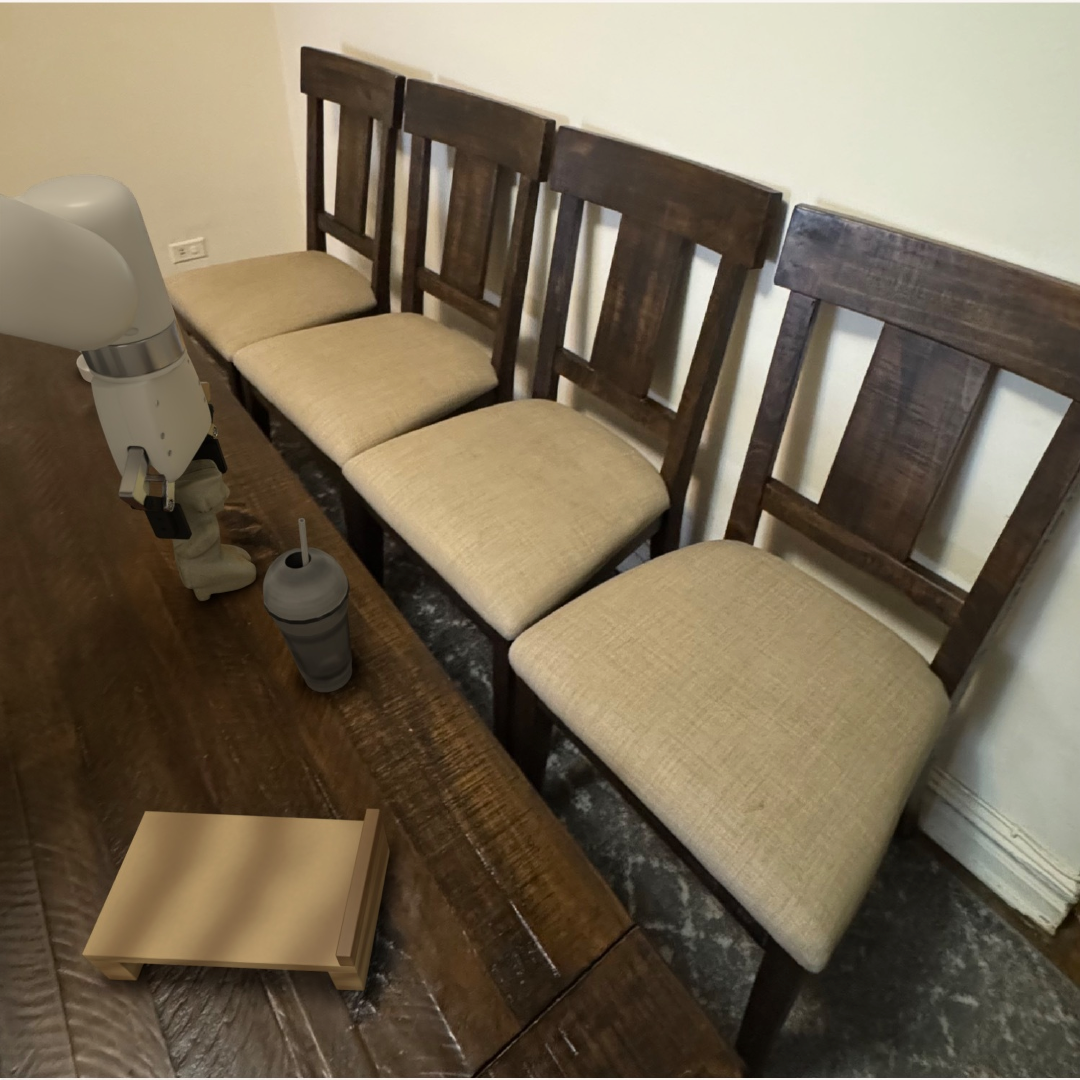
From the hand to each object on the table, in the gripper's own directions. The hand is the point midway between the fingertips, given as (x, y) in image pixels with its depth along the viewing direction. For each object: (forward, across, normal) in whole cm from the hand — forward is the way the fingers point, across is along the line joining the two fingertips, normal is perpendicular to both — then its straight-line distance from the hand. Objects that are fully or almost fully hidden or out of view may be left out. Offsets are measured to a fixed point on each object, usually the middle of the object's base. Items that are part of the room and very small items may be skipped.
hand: (194, 502), depth 72 cm
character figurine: (+12, -43, -31) cm, 54 cm away
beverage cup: (+12, +11, +14) cm, 21 cm away
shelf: (+11, +33, +14) cm, 38 cm away
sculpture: (+12, 0, 0) cm, 12 cm away
